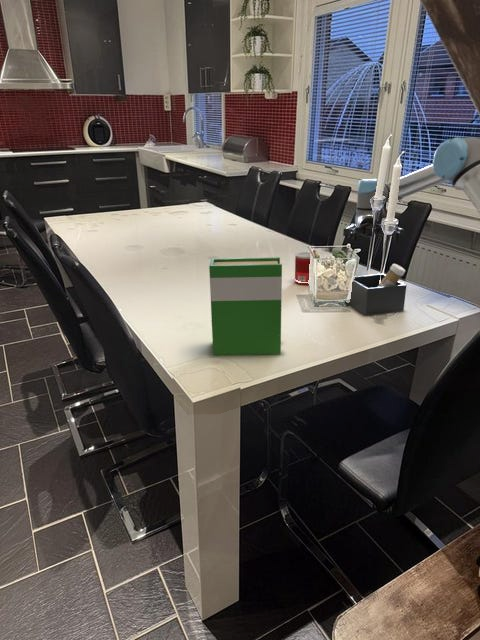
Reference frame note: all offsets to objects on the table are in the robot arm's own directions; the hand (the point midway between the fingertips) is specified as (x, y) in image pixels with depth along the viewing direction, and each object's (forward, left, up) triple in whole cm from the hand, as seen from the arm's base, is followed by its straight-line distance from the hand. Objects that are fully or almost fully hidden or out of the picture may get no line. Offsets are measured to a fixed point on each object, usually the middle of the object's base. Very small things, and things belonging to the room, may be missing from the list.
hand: (376, 237), depth 155 cm
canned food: (+24, +15, -21) cm, 35 cm away
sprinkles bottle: (-9, +3, -20) cm, 22 cm away
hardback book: (-27, +53, -21) cm, 63 cm away
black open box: (-8, +4, -21) cm, 23 cm away
